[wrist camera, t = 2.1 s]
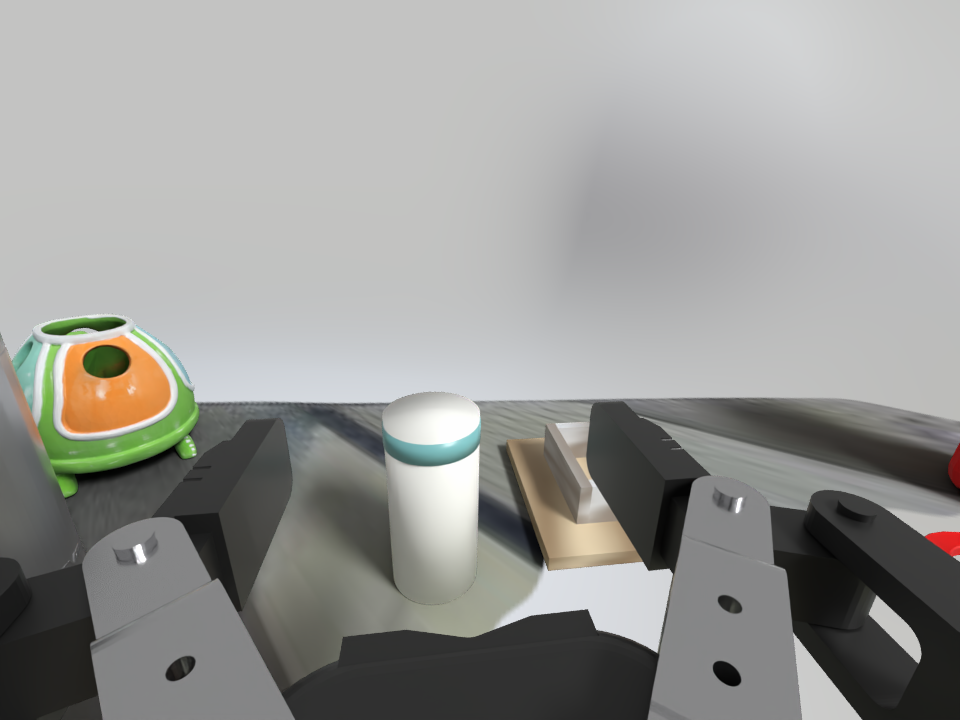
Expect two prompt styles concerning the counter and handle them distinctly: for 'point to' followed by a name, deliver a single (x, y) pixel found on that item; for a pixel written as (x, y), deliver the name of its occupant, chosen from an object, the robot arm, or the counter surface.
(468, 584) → the cylindrical container
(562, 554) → the wooden square holder
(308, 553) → the counter surface
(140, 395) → the turtle holder
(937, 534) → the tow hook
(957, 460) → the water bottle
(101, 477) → the counter surface
